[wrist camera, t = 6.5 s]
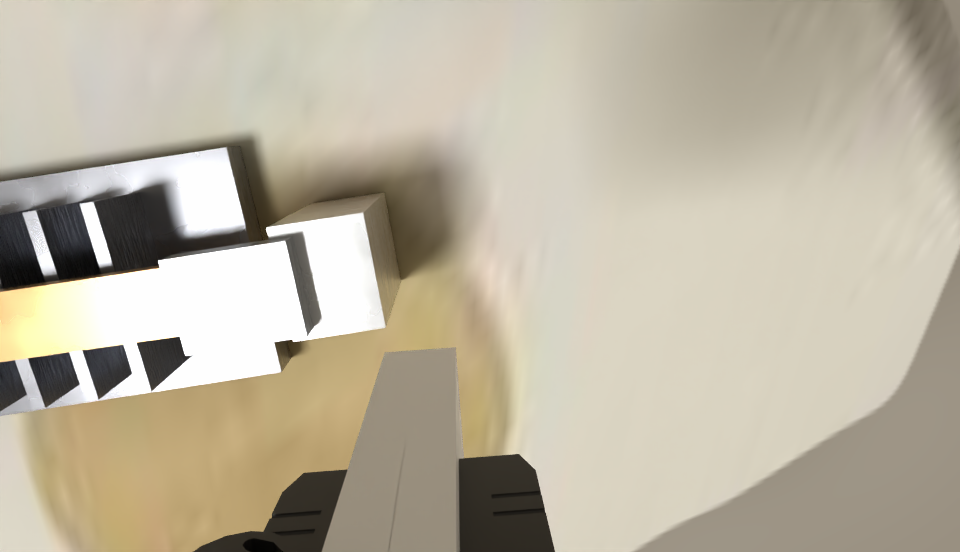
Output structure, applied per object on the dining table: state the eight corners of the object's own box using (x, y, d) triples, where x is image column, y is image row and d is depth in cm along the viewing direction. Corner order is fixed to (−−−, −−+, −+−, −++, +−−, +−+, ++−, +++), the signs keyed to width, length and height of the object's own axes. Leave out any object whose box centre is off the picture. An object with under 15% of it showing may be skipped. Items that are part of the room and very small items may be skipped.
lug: (235, 215, 32) (154, 248, 24) (384, 192, 32) (358, 216, 24) (258, 303, 34) (188, 367, 25) (400, 281, 34) (382, 337, 25)
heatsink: (-141, 204, 32) (-304, 225, 25) (240, 146, 32) (181, 151, 25) (-58, 412, 34) (-183, 482, 28) (290, 358, 35) (251, 414, 28)
